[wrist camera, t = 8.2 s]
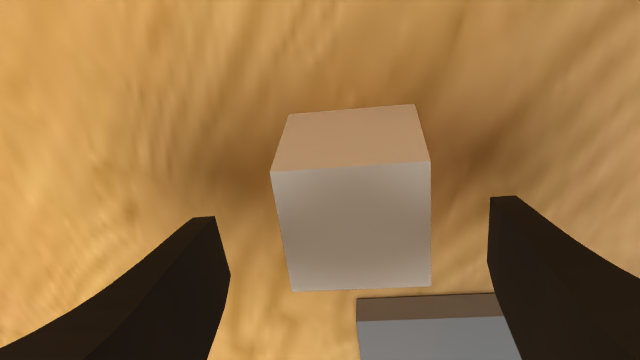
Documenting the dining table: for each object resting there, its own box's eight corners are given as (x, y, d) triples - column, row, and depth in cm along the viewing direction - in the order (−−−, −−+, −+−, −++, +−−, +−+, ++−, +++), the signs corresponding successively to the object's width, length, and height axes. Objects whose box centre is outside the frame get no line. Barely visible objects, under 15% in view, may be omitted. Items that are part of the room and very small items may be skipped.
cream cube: (414, 102, 15) (430, 161, 12) (416, 209, 17) (431, 286, 14) (289, 113, 16) (269, 172, 12) (305, 216, 18) (292, 291, 14)
